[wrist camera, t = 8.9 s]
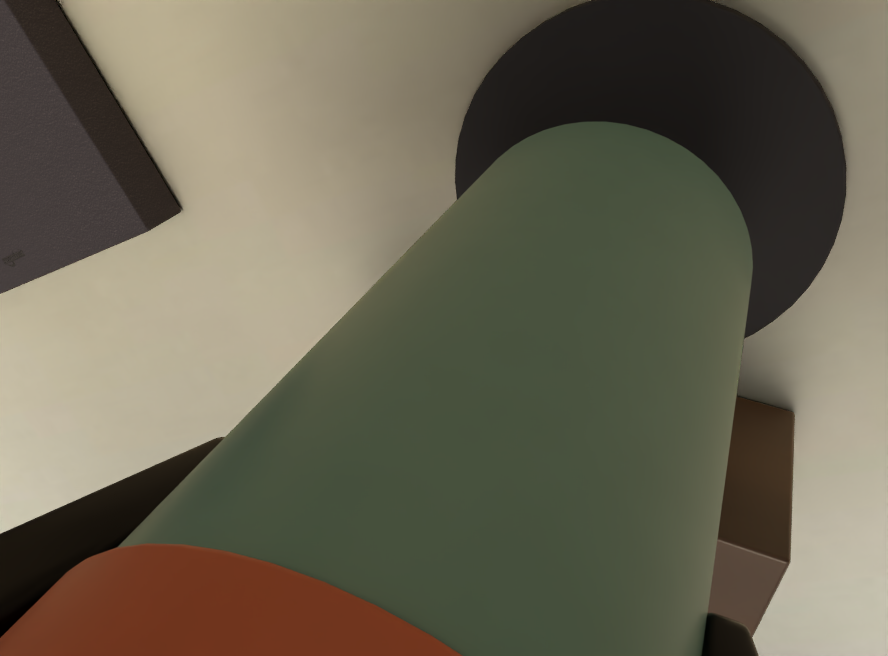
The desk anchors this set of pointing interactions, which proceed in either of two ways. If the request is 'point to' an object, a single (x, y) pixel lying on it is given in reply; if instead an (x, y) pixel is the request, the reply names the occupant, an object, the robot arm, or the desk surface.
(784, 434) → the block
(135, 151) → the notebook
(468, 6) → the desk surface
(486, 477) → the container
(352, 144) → the desk surface
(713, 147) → the coaster
